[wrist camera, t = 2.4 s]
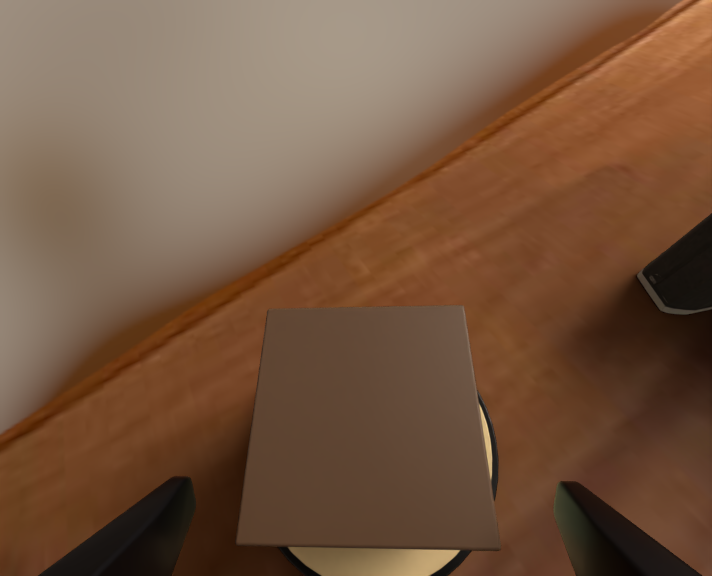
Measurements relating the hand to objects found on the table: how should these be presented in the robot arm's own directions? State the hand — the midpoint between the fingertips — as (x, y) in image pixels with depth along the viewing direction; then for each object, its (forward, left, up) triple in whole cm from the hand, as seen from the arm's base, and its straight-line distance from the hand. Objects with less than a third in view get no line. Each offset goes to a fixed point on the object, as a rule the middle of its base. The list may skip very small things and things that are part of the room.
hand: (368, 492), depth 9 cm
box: (+2, +1, -8) cm, 9 cm away
